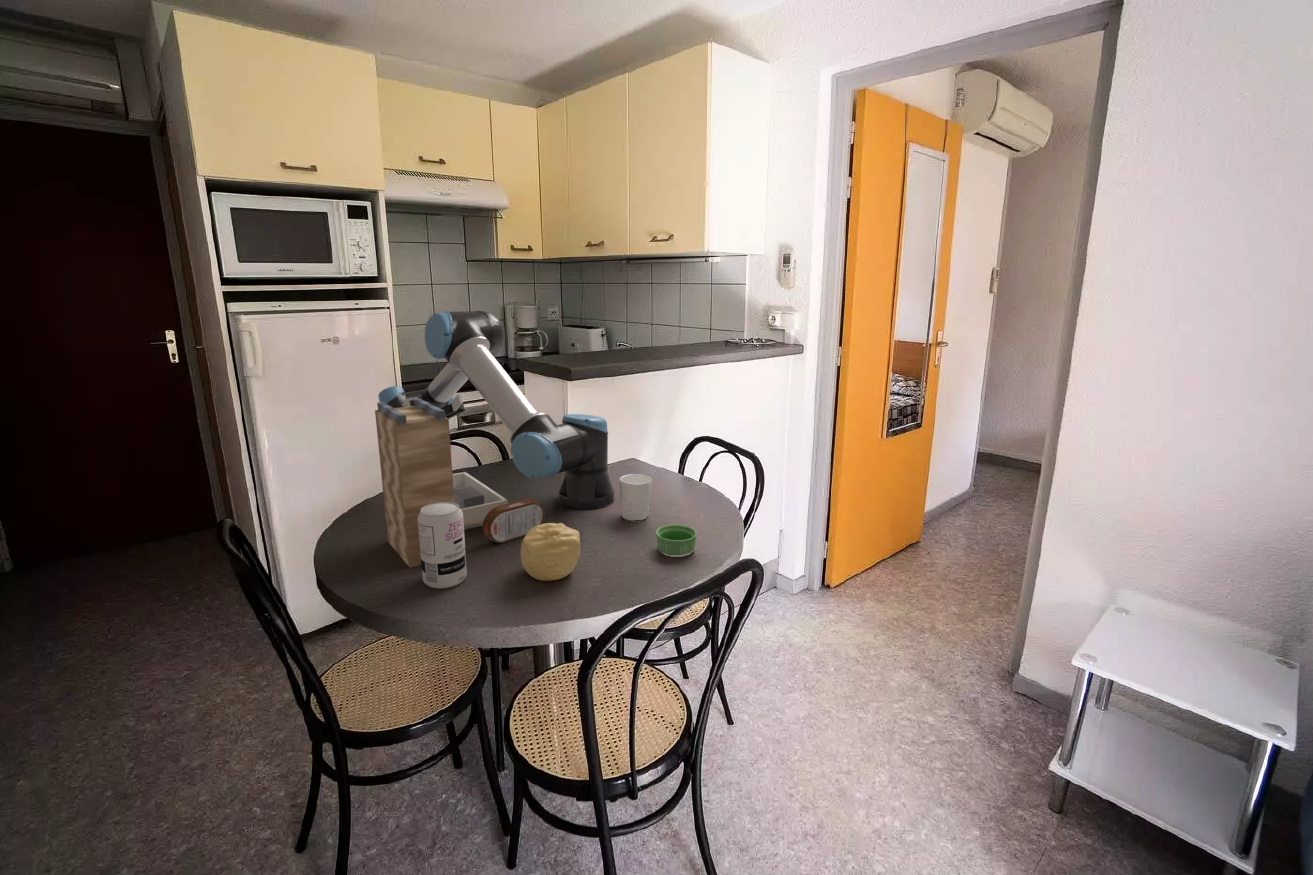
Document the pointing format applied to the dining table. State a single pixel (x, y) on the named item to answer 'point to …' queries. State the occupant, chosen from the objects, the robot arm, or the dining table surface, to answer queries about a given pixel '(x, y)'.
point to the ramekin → (676, 539)
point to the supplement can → (442, 545)
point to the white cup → (635, 496)
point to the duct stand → (412, 469)
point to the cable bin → (477, 513)
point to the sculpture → (550, 551)
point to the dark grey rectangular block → (468, 497)
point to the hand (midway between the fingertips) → (435, 400)
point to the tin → (512, 520)
